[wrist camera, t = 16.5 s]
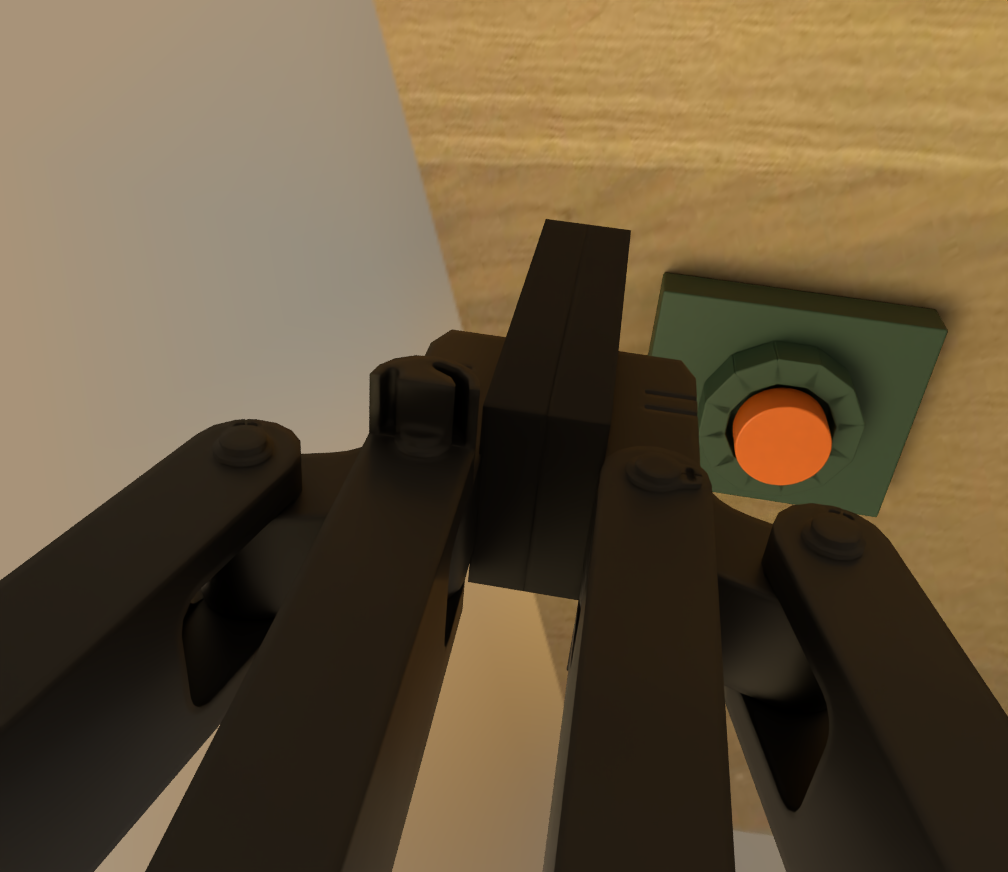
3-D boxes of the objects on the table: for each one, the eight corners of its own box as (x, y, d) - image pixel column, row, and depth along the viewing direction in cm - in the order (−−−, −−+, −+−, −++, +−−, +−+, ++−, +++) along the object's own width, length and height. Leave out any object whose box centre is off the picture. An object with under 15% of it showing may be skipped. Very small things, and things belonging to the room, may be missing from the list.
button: (723, 456, 42) (725, 478, 41) (743, 380, 40) (746, 400, 39) (813, 470, 42) (818, 492, 41) (837, 394, 40) (843, 414, 38)
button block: (629, 454, 47) (625, 501, 44) (663, 271, 42) (663, 308, 39) (869, 491, 46) (884, 541, 43) (936, 308, 41) (960, 349, 38)
